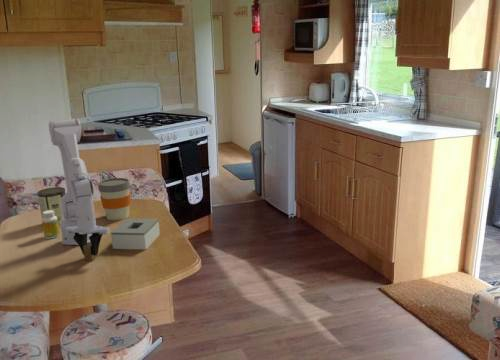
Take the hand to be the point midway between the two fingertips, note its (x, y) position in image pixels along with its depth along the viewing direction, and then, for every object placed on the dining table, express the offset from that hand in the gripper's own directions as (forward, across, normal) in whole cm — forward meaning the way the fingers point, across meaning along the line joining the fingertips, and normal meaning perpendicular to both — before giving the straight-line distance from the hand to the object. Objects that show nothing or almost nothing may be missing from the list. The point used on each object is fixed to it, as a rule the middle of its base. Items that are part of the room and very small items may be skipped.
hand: (90, 254), depth 160 cm
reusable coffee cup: (+2, -9, +41) cm, 42 cm away
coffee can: (+2, -31, +31) cm, 44 cm away
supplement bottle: (+2, -25, +18) cm, 31 cm away
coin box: (+1, +10, +15) cm, 18 cm away
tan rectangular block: (+2, 0, 0) cm, 2 cm away
